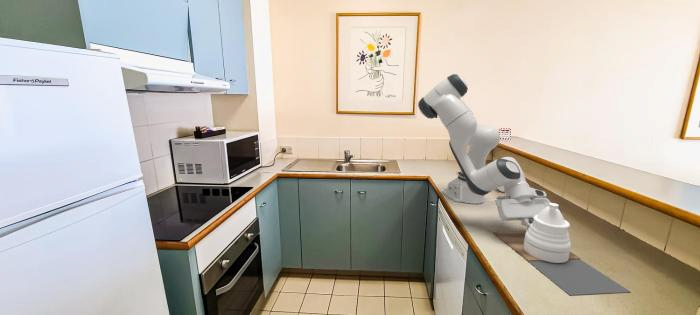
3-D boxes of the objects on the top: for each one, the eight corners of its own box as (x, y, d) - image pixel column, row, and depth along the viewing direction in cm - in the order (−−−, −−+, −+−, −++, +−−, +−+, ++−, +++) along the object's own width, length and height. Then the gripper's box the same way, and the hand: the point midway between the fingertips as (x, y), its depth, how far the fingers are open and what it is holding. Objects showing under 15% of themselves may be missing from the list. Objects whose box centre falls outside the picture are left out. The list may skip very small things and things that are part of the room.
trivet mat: (528, 262, 92) (528, 261, 92) (580, 259, 94) (580, 259, 94) (569, 295, 77) (569, 295, 77) (630, 292, 78) (630, 291, 78)
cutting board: (493, 233, 112) (493, 231, 112) (536, 231, 113) (536, 230, 113) (528, 262, 92) (528, 260, 92) (580, 259, 94) (580, 258, 94)
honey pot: (570, 267, 88) (580, 213, 85) (522, 255, 95) (530, 204, 91) (566, 249, 99) (575, 200, 95) (523, 239, 106) (530, 193, 102)
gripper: (497, 193, 106) (511, 229, 98) (549, 191, 107) (566, 227, 100) (489, 200, 111) (502, 234, 104) (539, 198, 113) (554, 233, 105)
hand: (534, 231), depth 102 cm, fingers closed, pressing on honey pot
